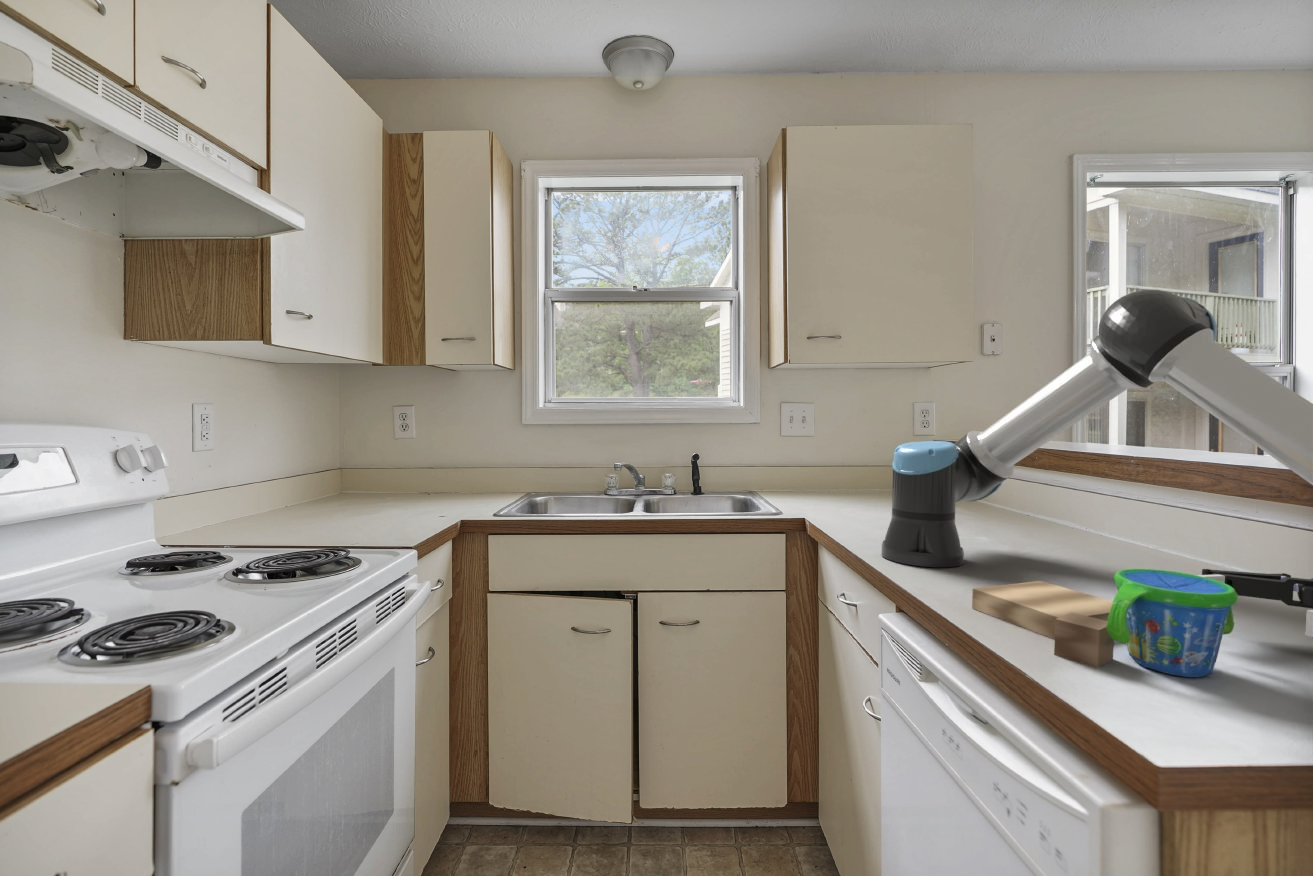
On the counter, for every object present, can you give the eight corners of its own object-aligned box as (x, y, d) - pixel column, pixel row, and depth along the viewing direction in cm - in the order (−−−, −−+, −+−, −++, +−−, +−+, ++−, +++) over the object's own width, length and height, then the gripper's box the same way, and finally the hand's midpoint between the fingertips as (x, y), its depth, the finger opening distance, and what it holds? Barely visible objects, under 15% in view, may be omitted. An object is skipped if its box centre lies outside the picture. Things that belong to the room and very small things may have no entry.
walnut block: (1054, 655, 73) (1055, 618, 73) (1070, 647, 75) (1071, 612, 75) (1097, 668, 69) (1099, 630, 69) (1112, 659, 72) (1114, 622, 72)
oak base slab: (972, 608, 90) (972, 588, 90) (1039, 599, 95) (1040, 580, 94) (1062, 642, 77) (1063, 619, 77) (1136, 630, 81) (1137, 608, 81)
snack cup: (1148, 689, 64) (1153, 594, 64) (1071, 650, 74) (1074, 568, 74) (1279, 684, 65) (1284, 592, 65) (1185, 646, 76) (1189, 567, 76)
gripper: (1538, 668, 63) (1379, 681, 59) (1260, 595, 87) (1136, 601, 84) (1544, 597, 62) (1384, 606, 59) (1263, 544, 87) (1139, 548, 83)
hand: (1238, 603), depth 71 cm, fingers open, 13 cm apart
